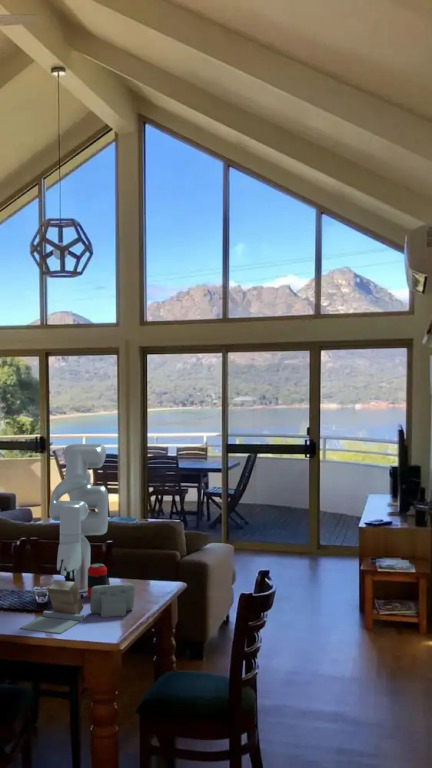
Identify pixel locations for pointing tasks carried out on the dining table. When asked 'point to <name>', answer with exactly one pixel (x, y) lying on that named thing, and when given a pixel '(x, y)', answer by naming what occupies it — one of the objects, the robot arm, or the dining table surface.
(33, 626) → the mat
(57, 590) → the block
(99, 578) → the soda can
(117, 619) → the dining table surface
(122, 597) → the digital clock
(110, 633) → the dining table surface
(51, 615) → the rail
